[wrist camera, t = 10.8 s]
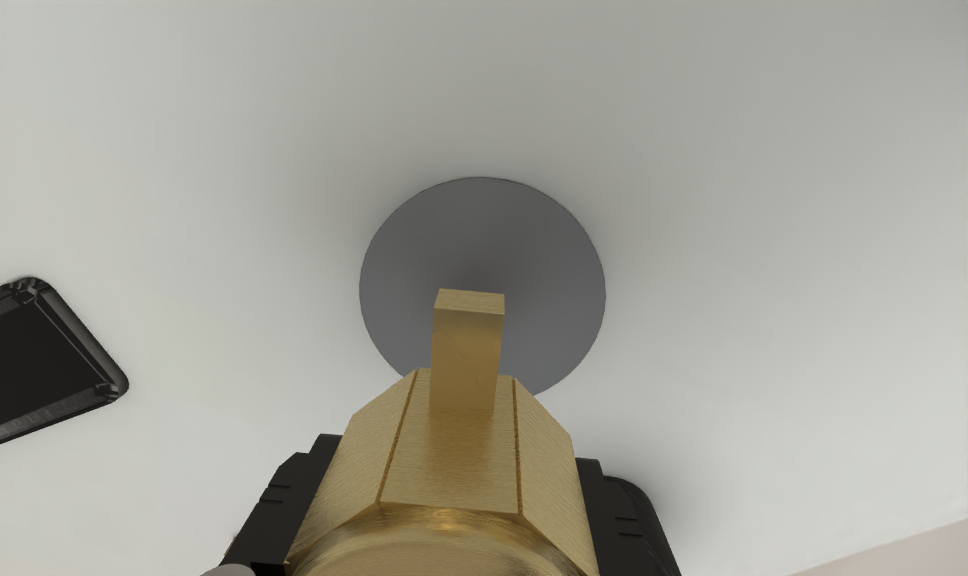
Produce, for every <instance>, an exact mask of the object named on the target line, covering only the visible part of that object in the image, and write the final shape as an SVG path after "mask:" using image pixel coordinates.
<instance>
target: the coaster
mask: <svg viewBox="0 0 968 576" xmlns="http://www.w3.org/2000/svg"><path fill="white" fill-rule="evenodd" d="M440 288H443V289H454V290H464V291H475V292H486V293H497V294H504V310H505V316H504V324H503V333H502V341H501V350H500V358H499V367H498V375H509V376H512V379H513V378H516V379H517V380H518V381H519V382H520V383H521V384H522V385H523V386H524V387H525V388H526V389H527V390H528V391H529V392H530V393H531V395H532V396H534V395H536V394H538V393H540V392H543V391H545V390H547V389H548V388H550V387H552V386H553V385H555V384H557V383H558V382H560V381H561V380H562V379H563V378H565V377H566V376H567V375H568V374H570V373H571V372H572V371H573V370H574V369H575V368H576V367H577V366H578V364H579V363H580V362H581V361H582V360H583V358H584V357H585V356H586V354H587V353H588V352H589V350H590V348H591V346H592V345H593V343H594V341H595V339H596V337H597V334H598V332H599V329H600V327H601V324H602V319H603V315H604V311H605V299H606V292H605V279H604V274H603V270H602V265H601V263H600V260H599V257H598V254H597V252H596V250H595V248H594V246H593V244H592V242H591V240H590V239H589V237H588V235H587V234H586V232H585V231H584V230H583V228H582V227H581V225H580V224H579V223H578V221H577V220H576V219H575V218H574V217H573V216H572V215H571V214H570V213H569V212H568V211H567V210H566V209H565V208H563V207H562V206H561V205H560V204H558V203H557V202H556V201H554V200H553V199H552V198H550V197H548V196H546V195H545V194H543V193H541V192H539V191H537V190H535V189H533V188H530V187H528V186H525V185H523V184H520V183H516V182H512V181H508V180H503V179H494V178H466V179H460V180H453V181H449V182H446V183H443V184H439V185H436V186H434V187H431V188H429V189H427V190H425V191H423V192H420V193H419V194H417V195H416V196H414V197H413V198H411V199H409V200H408V201H406V202H405V203H404V204H403V205H402V206H400V207H399V208H398V209H397V210H396V211H395V212H394V213H393V214H392V215H391V216H390V217H389V218H388V219H387V220H386V221H385V223H384V224H383V225H382V226H381V227H380V229H379V230H378V232H377V233H376V235H375V236H374V238H373V240H372V241H371V244H370V246H369V248H368V250H367V252H366V255H365V258H364V262H363V265H362V268H361V275H360V283H359V297H360V305H361V311H362V315H363V319H364V322H365V326H366V328H367V330H368V332H369V335H370V337H371V339H372V341H373V343H374V344H375V346H376V347H377V349H378V351H379V352H380V353H381V355H382V356H383V357H384V358H385V360H386V361H387V362H388V363H389V364H390V365H391V366H392V367H393V368H394V369H395V370H396V371H397V372H398V373H399V374H400V375H402V376H403V377H405V376H406V375H408V374H409V373H410V372H412V371H413V370H414V369H417V370H418V371H419V368H420V367H421V368H431V352H432V331H433V309H434V305H435V302H436V299H437V296H438V292H439V289H440Z"/></svg>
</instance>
